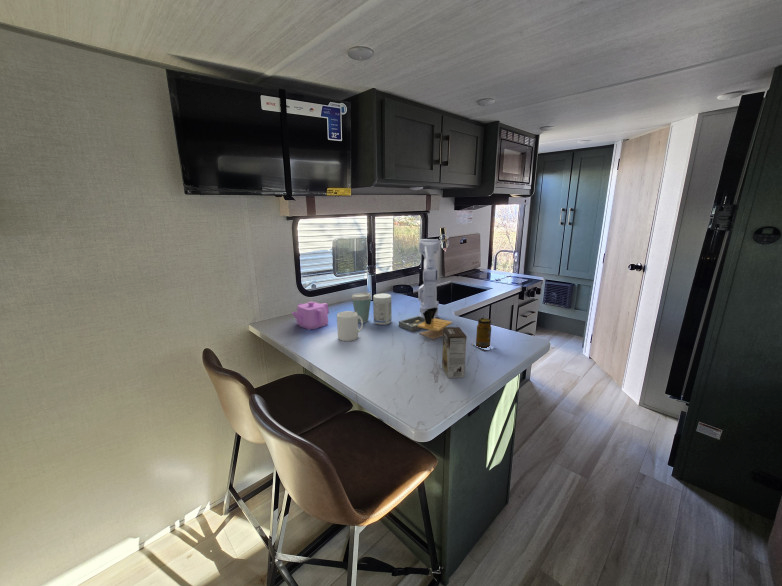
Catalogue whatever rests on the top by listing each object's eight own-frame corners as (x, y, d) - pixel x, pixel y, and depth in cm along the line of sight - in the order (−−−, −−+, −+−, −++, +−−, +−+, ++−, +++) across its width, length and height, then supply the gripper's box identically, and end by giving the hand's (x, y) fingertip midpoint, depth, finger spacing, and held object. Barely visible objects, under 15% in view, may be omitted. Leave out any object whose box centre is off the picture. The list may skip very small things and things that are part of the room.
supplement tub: (384, 318, 182) (384, 292, 178) (395, 322, 175) (395, 296, 171) (369, 321, 176) (369, 295, 172) (380, 326, 169) (380, 299, 165)
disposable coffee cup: (350, 323, 174) (349, 296, 170) (354, 317, 184) (353, 291, 180) (370, 324, 172) (369, 296, 169) (373, 317, 183) (373, 291, 179)
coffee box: (441, 366, 127) (442, 326, 123) (457, 365, 127) (459, 326, 123) (447, 378, 118) (448, 336, 114) (464, 377, 118) (467, 335, 114)
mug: (334, 337, 156) (332, 313, 153) (355, 331, 163) (354, 308, 160) (345, 343, 149) (344, 319, 146) (366, 336, 156) (366, 313, 153)
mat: (439, 327, 167) (439, 326, 167) (453, 332, 160) (453, 331, 160) (419, 333, 159) (419, 332, 159) (432, 339, 152) (432, 338, 152)
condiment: (483, 341, 150) (485, 316, 147) (497, 348, 142) (499, 322, 139) (471, 344, 147) (472, 318, 144) (484, 351, 139) (485, 324, 136)
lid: (431, 320, 168) (432, 310, 167) (451, 324, 162) (452, 313, 161) (417, 328, 156) (417, 317, 155) (438, 332, 150) (438, 321, 149)
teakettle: (325, 330, 165) (324, 306, 162) (291, 330, 165) (289, 307, 162) (331, 319, 182) (329, 297, 179) (300, 319, 181) (298, 297, 178)
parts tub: (418, 320, 178) (419, 315, 177) (432, 325, 170) (432, 320, 170) (398, 326, 170) (398, 321, 169) (411, 331, 162) (411, 326, 161)
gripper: (429, 290, 158) (428, 317, 162) (414, 297, 147) (413, 326, 150) (442, 292, 154) (442, 320, 158) (428, 299, 143) (427, 329, 146)
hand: (429, 323), depth 154 cm, fingers closed on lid
